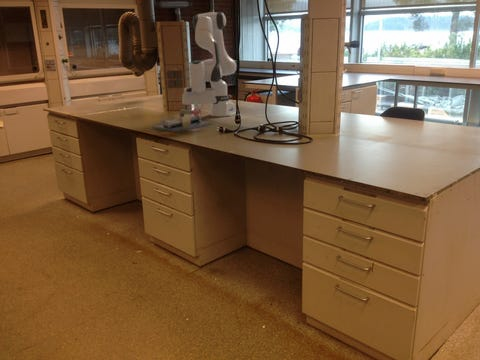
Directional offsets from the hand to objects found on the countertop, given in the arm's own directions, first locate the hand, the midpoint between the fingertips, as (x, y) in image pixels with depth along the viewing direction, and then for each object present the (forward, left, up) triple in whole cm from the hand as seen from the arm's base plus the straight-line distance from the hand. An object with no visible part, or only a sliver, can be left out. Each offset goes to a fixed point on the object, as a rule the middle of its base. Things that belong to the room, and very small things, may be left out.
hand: (199, 111), depth 274 cm
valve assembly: (+3, -13, -10) cm, 16 cm away
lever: (+3, -6, -3) cm, 7 cm away
